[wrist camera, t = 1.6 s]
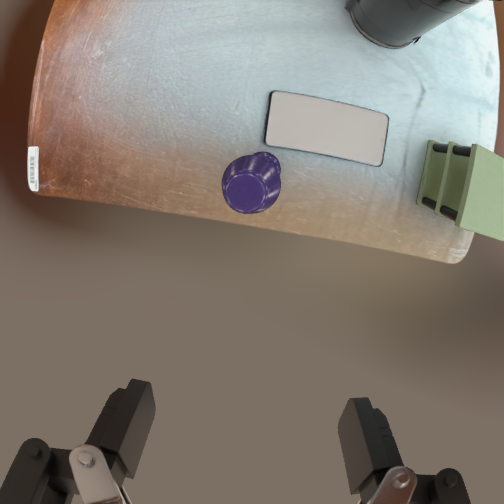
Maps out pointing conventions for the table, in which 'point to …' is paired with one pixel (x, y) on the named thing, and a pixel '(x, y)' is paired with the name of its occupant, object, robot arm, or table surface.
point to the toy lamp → (252, 183)
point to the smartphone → (325, 127)
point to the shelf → (465, 187)
